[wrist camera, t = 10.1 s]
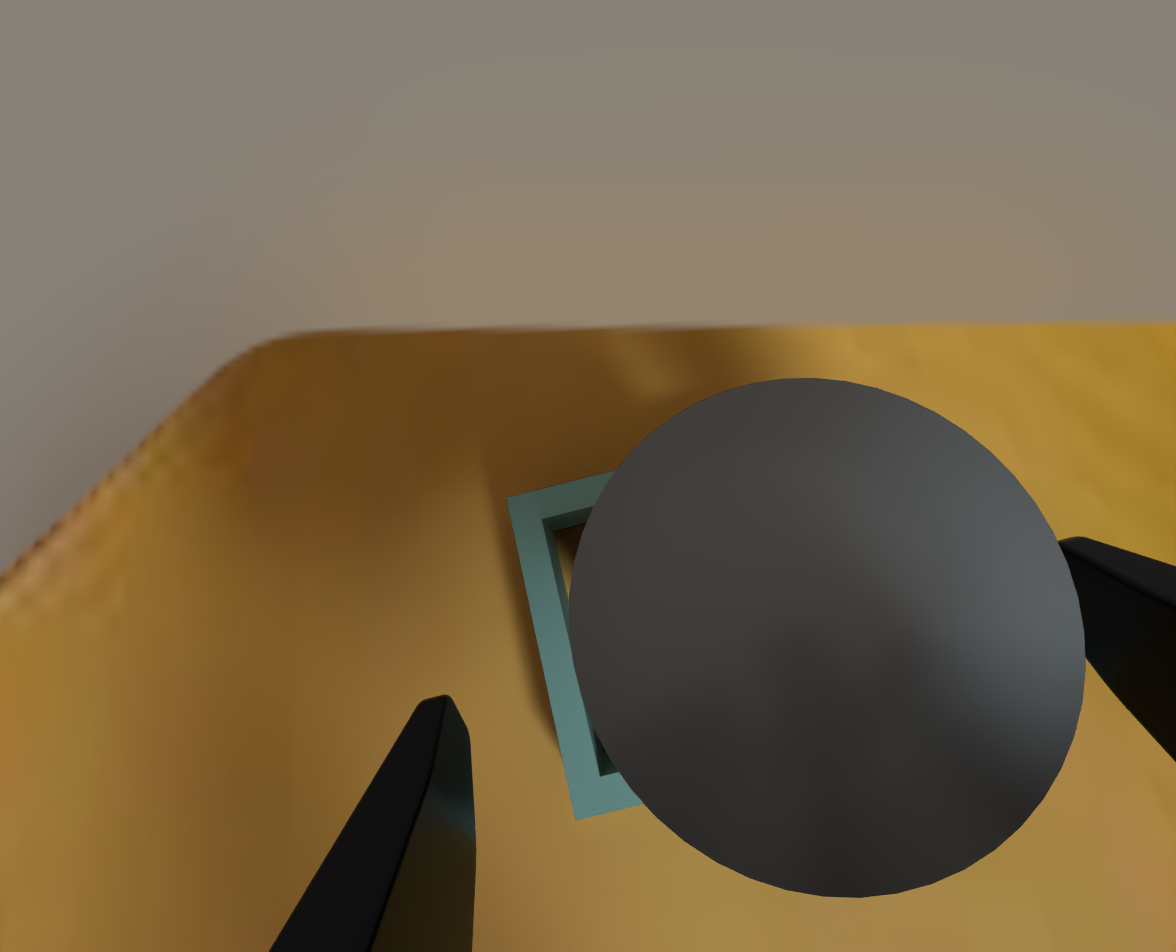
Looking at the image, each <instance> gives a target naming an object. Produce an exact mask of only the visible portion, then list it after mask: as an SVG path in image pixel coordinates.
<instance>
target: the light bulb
mask: <svg viewBox="0 0 1176 952" xmlns="http://www.w3.org/2000/svg"><path fill="white" fill-rule="evenodd" d="M569 633H570V642H571V651H572V659H573V665H574V669H575V673H576V677H577V681H578V685H579V689H580V693H581V697H582V699H583V702H584V705H585V707H586V710H587V712H588V715H589V718H590V720H591V723H592V725H593V728H594V730H595V732H596V734H597V736H598V738H599V739H600V741H601V743H602V745H603V747H604V749H605V751H606V753H607V754H608V756H609V758H610V760H611V761H612V763H613V764H614V766H615V767H616V769H617V770H618V771H619V773H620V774H621V776H622V777H623V778H624V780H625V781H626V783H627V784H628V786H629V787H630V788H631V790H632V791H633V792H634V793H635V794H636V795H637V796H638V798H639V799H640V800H641V801H642V802H643V803H644V804H645V805H646V806H647V807H648V809H649V810H650V811H651V812H652V813H653V814H654V815H655V816H656V817H657V818H658V819H659V820H660V821H661V822H663V823H664V824H665V825H666V826H667V827H668V828H670V829H671V830H672V831H673V832H674V833H675V834H677V835H678V836H679V837H680V838H681V839H683V840H684V841H685V842H686V843H688V844H689V845H691V846H693V847H694V848H696V849H697V850H699V851H700V852H702V853H703V854H705V855H706V856H708V857H709V858H711V859H712V860H714V861H716V862H717V863H719V864H721V865H724V866H726V867H728V868H730V869H732V870H734V871H736V872H738V873H740V874H742V875H744V876H746V877H749V878H751V879H754V880H757V881H760V882H763V883H766V884H769V885H772V886H776V887H779V888H782V889H785V890H789V891H795V892H801V893H806V894H812V895H818V896H825V897H855V898H862V897H870V896H879V895H888V894H897V893H900V892H904V891H908V890H911V889H915V888H919V887H922V886H926V885H930V884H933V883H935V882H937V881H940V880H942V879H944V878H946V877H949V876H951V875H953V874H955V873H958V872H960V871H962V870H964V869H966V868H968V867H969V866H971V865H972V864H974V863H975V862H977V861H978V860H980V859H982V858H983V857H985V856H986V855H988V854H989V853H991V852H992V851H994V850H995V849H996V848H997V847H999V846H1000V845H1001V844H1002V843H1003V842H1004V841H1005V840H1006V839H1008V838H1009V837H1010V836H1011V835H1012V834H1013V833H1014V832H1015V831H1016V830H1018V829H1019V828H1020V827H1021V826H1022V825H1023V823H1024V822H1025V821H1026V820H1027V819H1028V817H1029V816H1030V815H1031V814H1032V812H1033V811H1034V810H1035V809H1036V808H1037V806H1038V805H1039V804H1040V803H1041V801H1042V800H1043V799H1044V797H1045V796H1046V794H1047V792H1048V790H1049V789H1050V787H1051V785H1052V784H1053V782H1054V780H1055V778H1056V777H1057V775H1058V773H1059V772H1060V770H1061V768H1062V766H1063V763H1064V761H1065V758H1066V756H1067V753H1068V751H1069V748H1070V746H1071V743H1072V741H1073V738H1074V735H1075V731H1076V727H1077V723H1078V718H1079V714H1080V710H1081V706H1082V701H1083V690H1084V680H1085V669H1086V662H1085V640H1084V628H1083V622H1082V617H1081V611H1080V606H1079V600H1078V596H1077V592H1076V589H1075V586H1074V583H1073V580H1072V576H1071V573H1070V570H1069V567H1068V564H1067V561H1066V559H1065V557H1064V555H1063V553H1062V550H1061V548H1060V546H1059V544H1058V542H1057V539H1056V537H1055V535H1054V533H1053V531H1052V529H1051V528H1050V526H1049V524H1048V523H1047V521H1046V519H1045V518H1044V516H1043V515H1042V513H1041V511H1040V510H1039V508H1038V506H1037V505H1036V503H1035V502H1034V500H1033V499H1032V498H1031V496H1030V495H1029V494H1028V493H1027V491H1026V490H1025V489H1024V488H1023V486H1022V485H1021V484H1020V482H1019V481H1018V480H1017V479H1016V477H1015V476H1014V475H1013V474H1012V473H1011V472H1010V471H1009V470H1008V469H1007V468H1006V467H1005V466H1004V465H1003V464H1002V463H1001V462H1000V461H999V460H998V459H997V458H996V457H995V456H994V455H993V454H992V453H991V452H990V451H989V450H988V449H987V448H985V447H984V446H983V445H982V444H980V443H979V442H978V441H977V440H975V439H974V438H973V437H972V436H971V435H969V434H968V433H967V432H966V431H964V430H963V429H961V428H960V427H958V426H956V425H955V424H953V423H952V422H950V421H949V420H947V419H945V418H944V417H942V416H941V415H939V414H937V413H936V412H934V411H932V410H930V409H927V408H925V407H923V406H921V405H919V404H917V403H915V402H913V401H911V400H909V399H907V398H904V397H901V396H898V395H895V394H892V393H889V392H886V391H884V390H881V389H878V388H874V387H870V386H865V385H860V384H856V383H851V382H847V381H838V380H828V379H819V378H795V379H779V380H772V381H765V382H758V383H752V384H749V385H745V386H741V387H738V388H734V389H730V390H727V391H724V392H721V393H719V394H716V395H714V396H712V397H709V398H707V399H704V400H702V401H699V402H697V403H696V404H694V405H692V406H690V407H689V408H687V409H685V410H683V411H682V412H680V413H678V414H676V415H675V416H673V417H671V418H670V419H669V420H667V421H666V422H665V423H663V424H662V425H661V426H659V427H658V428H657V429H656V430H654V431H653V432H652V433H650V434H649V435H648V436H647V437H646V438H645V439H644V440H643V441H642V442H641V443H640V444H639V445H638V446H637V447H636V448H635V449H634V450H633V451H632V452H631V453H630V454H629V455H628V456H627V457H626V458H625V460H624V461H623V462H622V463H621V465H620V466H619V467H618V469H617V470H616V471H615V472H614V474H613V475H612V476H611V478H610V479H609V480H608V482H607V484H606V486H605V487H604V489H603V491H602V492H601V494H600V496H599V498H598V499H597V501H596V503H595V504H594V506H593V509H592V511H591V514H590V516H589V518H588V521H587V523H586V526H585V528H584V530H583V533H582V536H581V539H580V543H579V547H578V550H577V554H576V558H575V561H574V566H573V573H572V580H571V587H570V594H569Z"/></svg>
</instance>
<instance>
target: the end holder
mask: <svg viewBox="0 0 1176 952" xmlns="http://www.w3.org/2000/svg"><path fill="white" fill-rule="evenodd" d="M615 471H616V470H615ZM615 471H611V472H607V473H603V474H599V475H595V476H591V477H587V478H583V479H579V480H575V481H571V482H567V483H563V484H559V485H555V486H551V487H547V488H543V489H539V490H535V491H531V492H527V493H523V494H519V495H515V496H511V497H507V498H506V499H507V503H508V508H509V513H510V517H511V522H512V527H513V531H514V536H515V541H516V545H517V550H518V555H519V559H520V564H521V569H522V573H523V578H524V583H525V587H526V592H527V597H528V601H529V606H530V611H531V615H532V620H533V625H534V629H535V634H536V639H537V643H538V648H539V653H540V657H541V662H542V667H543V671H544V676H545V681H546V685H547V690H548V695H549V699H550V704H551V709H552V713H553V718H554V723H555V727H556V732H557V737H558V741H559V746H560V751H561V755H562V760H563V765H564V769H565V774H566V779H567V783H568V788H569V793H570V797H571V802H572V807H573V811H574V816H575V820H579V819H583V818H587V817H591V816H595V815H599V814H603V813H607V812H611V811H616V810H620V809H624V808H628V807H632V806H636V805H640V804H644V803H643V802H642V801H641V800H640V799H639V798H638V796H637V795H636V794H635V793H634V792H633V791H632V790H631V788H630V787H629V786H628V784H627V783H626V781H625V780H624V778H623V777H622V776H621V774H620V773H619V771H618V770H617V769H616V767H615V766H614V764H613V763H612V761H611V760H610V758H609V756H608V754H607V753H606V752H604V753H603V748H602V744H601V741H600V739H599V738H598V736H597V734H596V732H595V730H594V728H593V725H592V723H591V720H590V718H589V715H588V712H587V710H586V707H585V705H584V702H583V699H582V697H581V693H580V689H579V685H578V681H577V677H576V673H575V669H574V665H573V659H572V651H571V642H570V633H569V600H568V596H567V592H566V587H565V583H564V579H563V574H562V570H561V566H560V561H559V557H558V553H557V548H556V544H555V540H554V535H553V531H555V530H559V529H563V528H567V527H571V526H575V525H579V524H583V523H587V521H588V518H589V516H590V514H591V511H592V509H593V506H594V504H595V503H596V501H597V499H598V498H599V496H600V494H601V492H602V491H603V489H604V487H605V486H606V484H607V482H608V480H609V479H610V478H611V476H612V475H613V474H614V472H615Z"/></svg>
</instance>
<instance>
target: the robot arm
mask: <svg viewBox="0 0 1176 952" xmlns="http://www.w3.org/2000/svg"><path fill="white" fill-rule="evenodd" d="M1057 542H1058V544H1059V546H1060V548H1061V550H1062V553H1063V555H1064V557H1065V559H1066V561H1067V564H1068V567H1069V570H1070V573H1071V576H1072V580H1073V583H1074V586H1075V589H1076V592H1077V596H1078V600H1079V606H1080V611H1081V617H1082V622H1083V628H1084V640H1085V657H1086V659H1087V660H1088V661H1089V663H1090V664H1091V665H1092V667H1093V668H1094V669H1095V671H1096V672H1097V673H1098V675H1099V676H1100V677H1101V678H1102V680H1103V681H1104V682H1105V683H1106V685H1107V686H1108V687H1109V688H1110V690H1111V691H1112V692H1113V693H1114V694H1115V696H1116V697H1117V698H1118V699H1119V700H1120V701H1121V702H1122V704H1123V705H1124V706H1125V707H1126V708H1127V709H1128V710H1129V711H1130V712H1131V714H1132V715H1133V716H1134V717H1135V718H1136V719H1137V720H1138V721H1139V722H1140V723H1141V725H1142V726H1143V727H1144V728H1145V729H1146V730H1147V731H1148V732H1149V733H1150V734H1151V736H1152V737H1153V738H1154V739H1155V740H1156V741H1157V742H1158V743H1159V744H1160V745H1161V746H1162V748H1163V749H1164V750H1165V751H1166V752H1167V753H1168V754H1169V755H1170V756H1171V757H1172V759H1173V760H1174V761H1175V762H1176V566H1174V565H1170V564H1167V563H1164V562H1161V561H1158V560H1155V559H1152V558H1149V557H1145V556H1142V555H1139V554H1136V553H1133V552H1130V551H1127V550H1124V549H1120V548H1117V547H1114V546H1111V545H1108V544H1105V543H1102V542H1099V541H1095V540H1092V539H1089V538H1086V537H1080V536H1078V537H1071V538H1067V539H1063V540H1059V541H1057ZM475 875H476V831H475V814H474V796H473V779H472V762H471V745H470V737H469V732H468V729H467V726H466V724H465V723H464V721H463V719H462V717H461V715H460V713H459V711H458V709H457V707H456V705H455V703H454V702H453V700H452V698H451V697H450V696H449V695H440V696H436V697H432V698H428V699H425V700H423V701H421V702H420V703H419V704H418V706H417V707H416V709H415V710H414V712H413V714H412V715H411V717H410V719H409V720H408V722H407V724H406V725H405V727H404V729H403V730H402V732H401V734H400V735H399V737H398V738H397V740H396V742H395V743H394V745H393V747H392V748H391V750H390V752H389V753H388V755H387V757H386V758H385V760H384V762H383V763H382V765H381V767H380V768H379V770H378V772H377V773H376V775H375V777H374V778H373V780H372V782H371V783H370V785H369V786H368V788H367V790H366V791H365V793H364V795H363V796H362V798H361V800H360V801H359V803H358V805H357V806H356V808H355V810H354V811H353V813H352V815H351V816H350V818H349V820H348V821H347V823H346V825H345V826H344V828H343V829H342V831H341V833H340V834H339V836H338V838H337V839H336V841H335V843H334V844H333V846H332V848H331V849H330V851H329V853H328V854H327V856H326V858H325V859H324V861H323V863H322V864H321V866H320V868H319V869H318V871H317V872H316V874H315V876H314V877H313V879H312V881H311V882H310V884H309V886H308V887H307V889H306V891H305V892H304V894H303V896H302V897H301V899H300V901H299V902H298V904H297V906H296V907H295V909H294V911H293V912H292V914H291V915H290V917H289V919H288V920H287V922H286V924H285V925H284V927H283V929H282V930H281V932H280V934H279V935H278V937H277V939H276V940H275V942H274V944H273V945H272V947H271V949H270V950H269V952H472V939H473V918H474V897H475Z"/></svg>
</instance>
